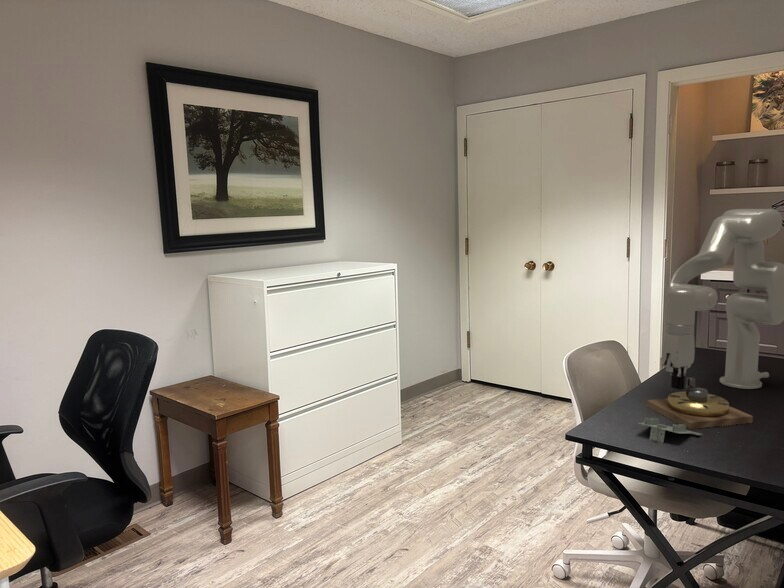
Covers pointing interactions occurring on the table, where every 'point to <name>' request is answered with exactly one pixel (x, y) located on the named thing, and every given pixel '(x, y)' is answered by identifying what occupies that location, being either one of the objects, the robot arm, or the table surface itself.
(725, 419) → the base plate
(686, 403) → the rotary dial
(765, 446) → the table surface
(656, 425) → the metal bracket
